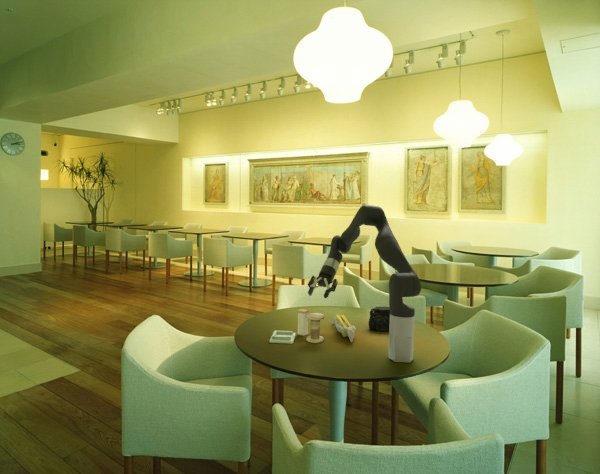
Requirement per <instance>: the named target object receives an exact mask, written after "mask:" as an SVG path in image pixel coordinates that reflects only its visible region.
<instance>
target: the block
mask: <svg viewBox="0 0 600 474" xmlns="http://www.w3.org/2000/svg"><path fill="white" fill-rule="evenodd" d="M309 312H310V310H309V309H304V308H301V309H298V310H297V335H298V336H306V335H308V334H309V319H308V318H307V314H309Z"/></svg>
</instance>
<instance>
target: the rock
mask: <svg viewBox="0 0 600 474" xmlns="http://www.w3.org/2000/svg"><path fill="white" fill-rule="evenodd" d="M389 325H390V306H376V307H374V308H373V307H372V308H371V309H370V311H369V319H368V328H369V330H374V331H375V330H376V331H379V332H380V331H389Z"/></svg>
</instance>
